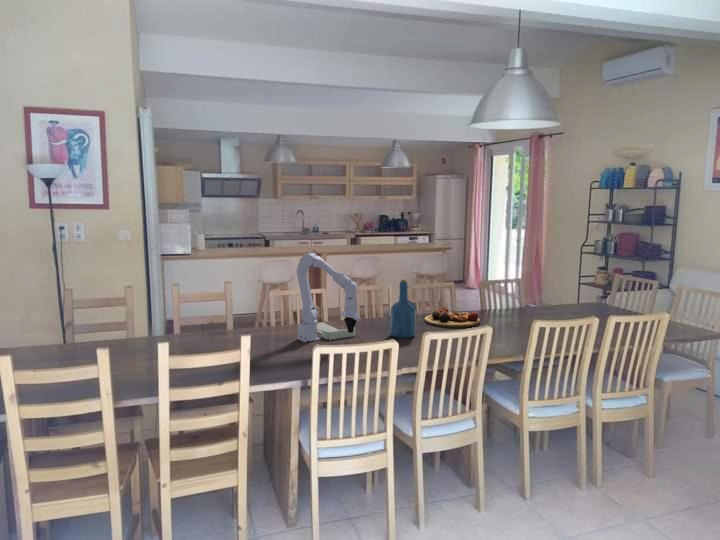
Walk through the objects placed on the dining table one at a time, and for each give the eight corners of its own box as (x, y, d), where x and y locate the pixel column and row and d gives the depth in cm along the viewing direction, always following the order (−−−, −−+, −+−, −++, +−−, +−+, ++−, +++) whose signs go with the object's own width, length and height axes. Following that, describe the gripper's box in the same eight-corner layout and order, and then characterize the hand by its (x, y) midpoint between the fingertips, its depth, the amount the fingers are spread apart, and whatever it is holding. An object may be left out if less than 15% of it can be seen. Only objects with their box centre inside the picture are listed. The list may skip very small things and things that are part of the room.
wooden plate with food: (490, 321, 314) (490, 308, 313) (461, 331, 291) (461, 316, 290) (443, 314, 335) (444, 301, 334) (413, 323, 312) (413, 309, 311)
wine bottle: (386, 337, 278) (386, 280, 274) (395, 331, 290) (396, 276, 286) (411, 340, 272) (412, 282, 268) (419, 334, 284) (420, 278, 280)
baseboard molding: (328, 340, 274) (349, 337, 280) (328, 334, 274) (349, 332, 280) (303, 327, 301) (322, 324, 307) (303, 322, 300) (322, 319, 306)
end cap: (328, 340, 272) (328, 332, 271) (321, 337, 278) (321, 329, 277) (357, 335, 281) (357, 328, 280) (350, 332, 287) (350, 325, 286)
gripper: (365, 307, 264) (365, 334, 266) (349, 302, 275) (349, 328, 277) (353, 309, 260) (353, 336, 262) (338, 303, 272) (337, 330, 273)
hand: (350, 332), depth 269 cm, fingers closed
